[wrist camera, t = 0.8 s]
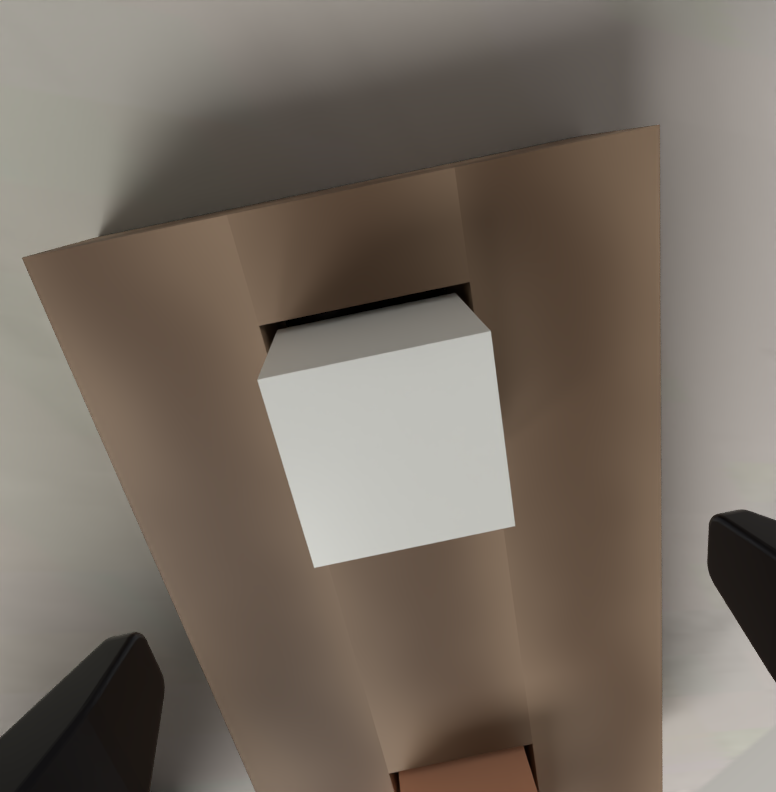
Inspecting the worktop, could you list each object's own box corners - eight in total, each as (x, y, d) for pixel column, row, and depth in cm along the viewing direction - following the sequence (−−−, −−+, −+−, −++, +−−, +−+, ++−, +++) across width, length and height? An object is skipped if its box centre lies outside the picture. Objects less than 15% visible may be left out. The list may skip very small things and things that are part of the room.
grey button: (319, 483, 15) (314, 567, 12) (276, 329, 14) (257, 379, 10) (478, 450, 15) (515, 525, 12) (455, 292, 14) (491, 330, 10)
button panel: (316, 813, 26) (312, 921, 22) (96, 237, 16) (21, 257, 12) (616, 750, 26) (662, 848, 22) (584, 135, 16) (659, 124, 12)
